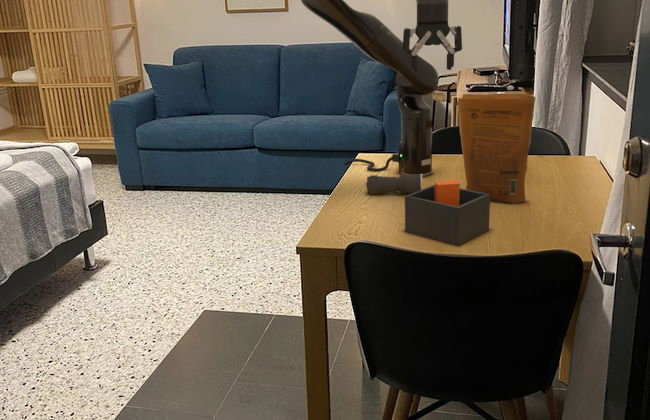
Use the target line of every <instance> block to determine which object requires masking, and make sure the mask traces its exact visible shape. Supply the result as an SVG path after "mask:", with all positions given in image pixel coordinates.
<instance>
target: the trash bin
mask: <svg viewBox="0 0 650 420" xmlns="http://www.w3.org/2000/svg"><path fill="white" fill-rule="evenodd" d="M490 208H491V201H490V194H486V193H481V192H476V191H471V190H466V188H461V187H460V193H459V206H458V207H457V206H453V205H448V204H444V203H439V202H435V184H433V185H430V186H428V187H425V188H422V190H420V191H417V192H414V193H412V194H409V193H408V194H406V195H404V232H407V233H411V234H414V235H418V236H422V237H425V238H428V239H433V240H436V241H440V242H444V243H448V244H452V245H455V246H459V245H462V244H464V243H466V242H468V241H470V240H472V239H475V237H477V236H479V235H482V234H484V233H485V232H488V231H489V230H490V213H491V209H490Z"/></svg>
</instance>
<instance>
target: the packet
mask: <svg viewBox="0 0 650 420" xmlns="http://www.w3.org/2000/svg"><path fill="white" fill-rule="evenodd" d="M434 185H435V202H439V203H444V204H448V205H453V206H457V207H458V206H459V193H460V188H461V183H460V182H459V181H458V180H457V179H452V180H451V179H450V180H435V181H434Z"/></svg>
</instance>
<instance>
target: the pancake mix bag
mask: <svg viewBox="0 0 650 420" xmlns="http://www.w3.org/2000/svg"><path fill="white" fill-rule="evenodd" d="M456 105H457V106H456V107H457V114H458V124H459V136H460V140H461V141H460V144H461V145H460V146H461V150H462V158H463V169H464V173H465V174H464V175H465V181H466V187H465V189H466V190H471V191H476V192H481V193H486V194H490V202H499V203H506V204H521V203H526V202H527V198H526V191H525V190H526V189H525V188H526V187H525V186H526V185H525V184H526V182H525V181H526V174H527V168H528V167H527V166H528V155H529V152H530V146H531V143H530V139H531V140H532V128H533V120H534V116H535V106H536V96H534V95H531V94H528V93H527V94H526V93H489V94H488V93H487V94H482V93H479V94H478V93H477V94H476V93H463V94H462V97H457V103H456Z"/></svg>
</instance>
